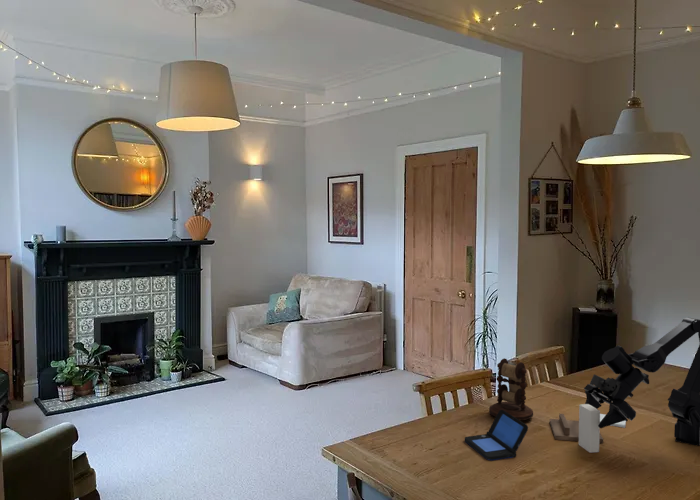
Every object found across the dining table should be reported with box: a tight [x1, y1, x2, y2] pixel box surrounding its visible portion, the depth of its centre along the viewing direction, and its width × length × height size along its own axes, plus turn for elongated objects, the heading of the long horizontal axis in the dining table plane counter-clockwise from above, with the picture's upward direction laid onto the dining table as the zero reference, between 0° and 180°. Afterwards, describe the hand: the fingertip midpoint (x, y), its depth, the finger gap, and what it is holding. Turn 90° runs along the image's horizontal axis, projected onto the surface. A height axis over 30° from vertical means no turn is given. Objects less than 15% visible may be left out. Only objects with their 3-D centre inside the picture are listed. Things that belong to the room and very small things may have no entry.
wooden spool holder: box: [488, 358, 534, 421], centre depth 198 cm, size 15×15×20 cm
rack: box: [549, 413, 604, 444], centre depth 184 cm, size 14×15×4 cm
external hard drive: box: [600, 413, 627, 429], centre depth 194 cm, size 2×8×12 cm
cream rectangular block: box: [578, 403, 601, 454], centre depth 171 cm, size 3×6×12 cm, turn 9°
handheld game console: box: [464, 410, 529, 461], centre depth 172 cm, size 16×13×9 cm
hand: (590, 421), depth 171 cm, fingers open, 9 cm apart
